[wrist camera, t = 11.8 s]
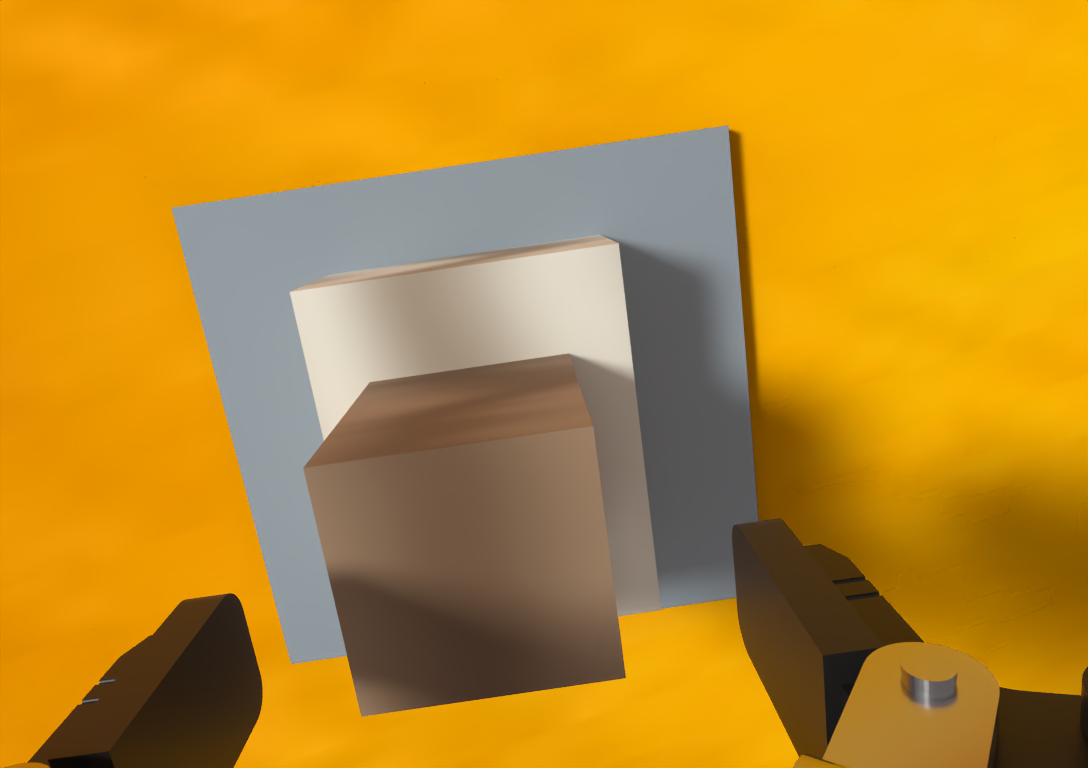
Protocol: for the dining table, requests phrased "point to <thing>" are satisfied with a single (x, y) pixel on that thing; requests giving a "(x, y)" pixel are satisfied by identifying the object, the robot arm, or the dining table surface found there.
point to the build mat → (472, 227)
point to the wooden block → (498, 355)
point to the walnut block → (467, 536)
